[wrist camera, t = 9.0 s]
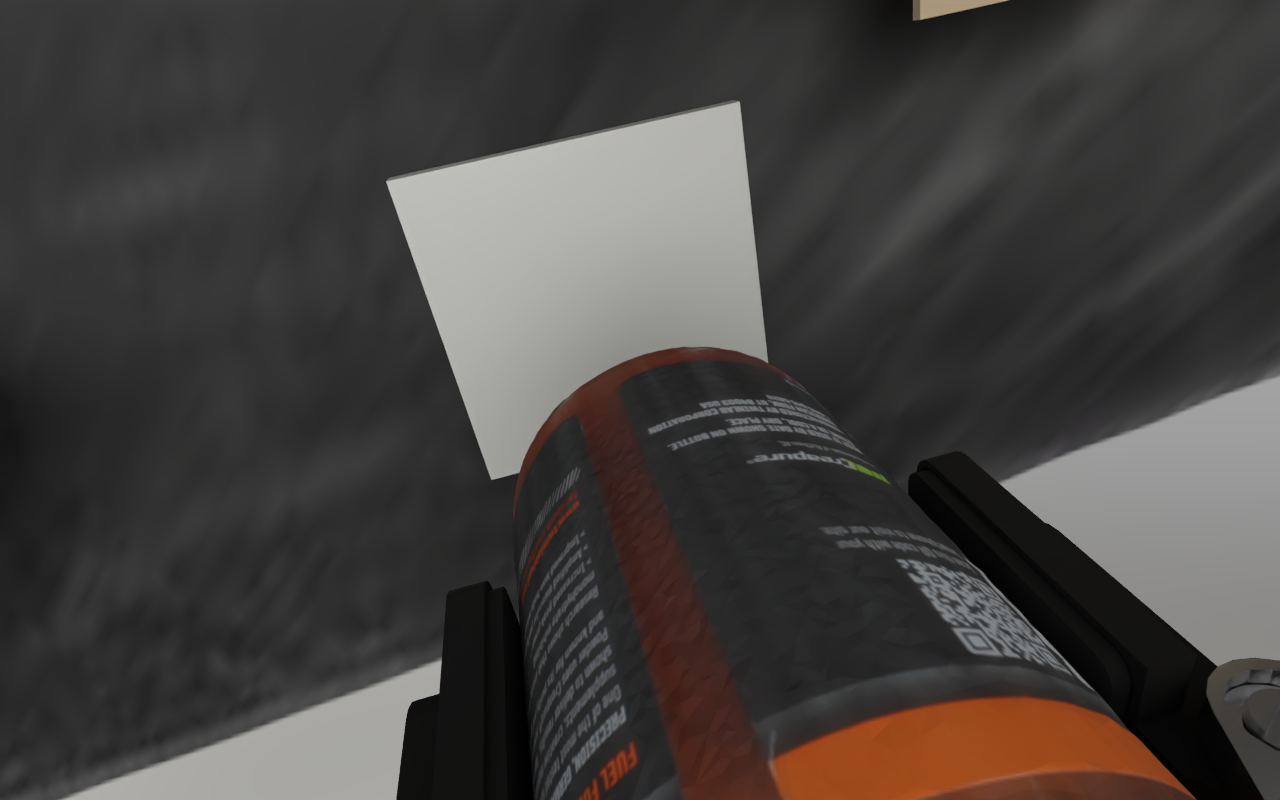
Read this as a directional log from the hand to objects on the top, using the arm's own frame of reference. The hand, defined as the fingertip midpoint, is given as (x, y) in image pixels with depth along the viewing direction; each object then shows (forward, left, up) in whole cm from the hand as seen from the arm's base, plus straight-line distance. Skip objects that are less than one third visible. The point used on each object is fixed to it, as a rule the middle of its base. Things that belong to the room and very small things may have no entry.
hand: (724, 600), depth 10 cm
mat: (0, 0, -14) cm, 14 cm away
